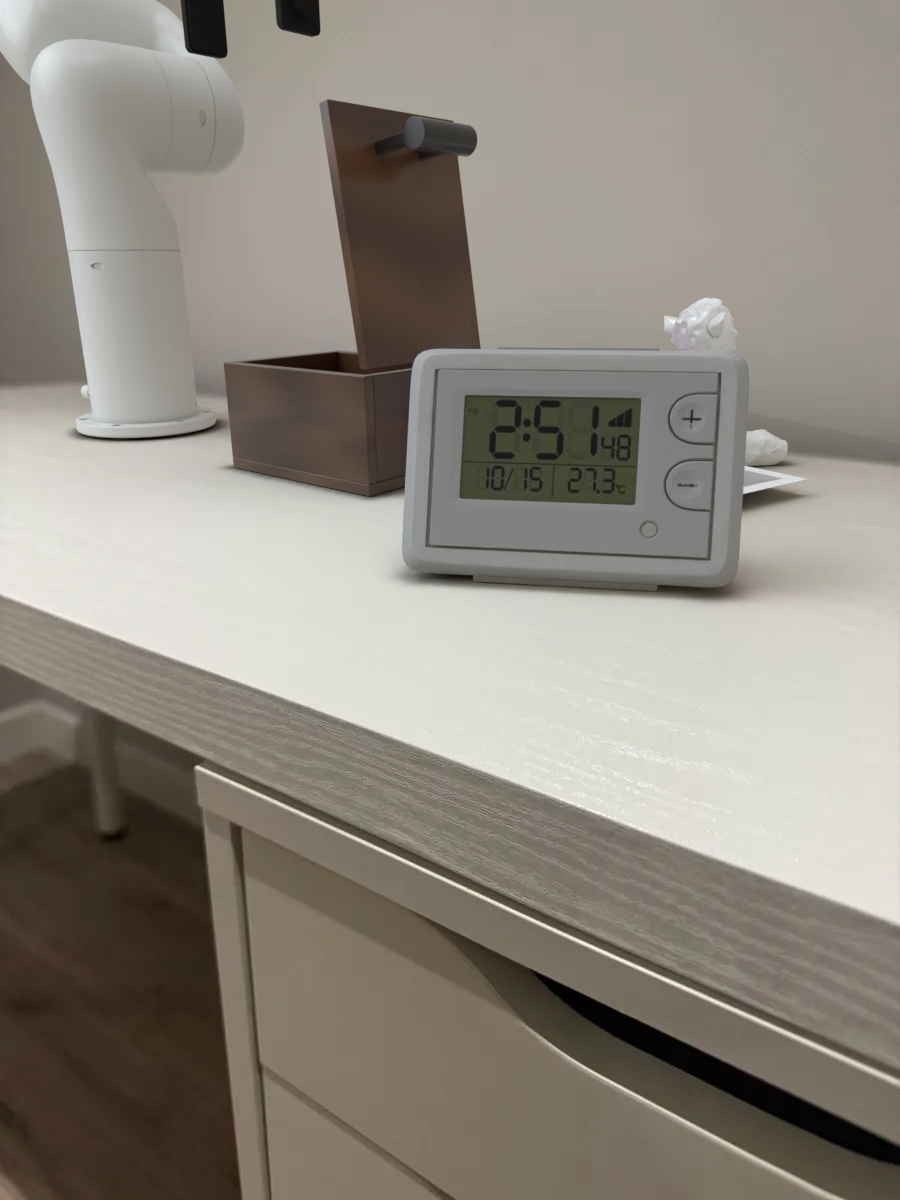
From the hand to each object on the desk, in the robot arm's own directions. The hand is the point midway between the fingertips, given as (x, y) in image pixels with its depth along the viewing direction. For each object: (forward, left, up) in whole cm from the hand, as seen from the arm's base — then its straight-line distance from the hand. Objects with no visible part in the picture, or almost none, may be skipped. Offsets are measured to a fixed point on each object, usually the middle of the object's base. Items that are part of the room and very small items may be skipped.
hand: (251, 44), depth 59 cm
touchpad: (+30, +8, -28) cm, 42 cm away
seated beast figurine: (+26, +20, -28) cm, 43 cm away
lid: (+12, +2, -13) cm, 17 cm away
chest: (+6, +2, -28) cm, 29 cm away
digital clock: (+32, -9, -28) cm, 44 cm away
